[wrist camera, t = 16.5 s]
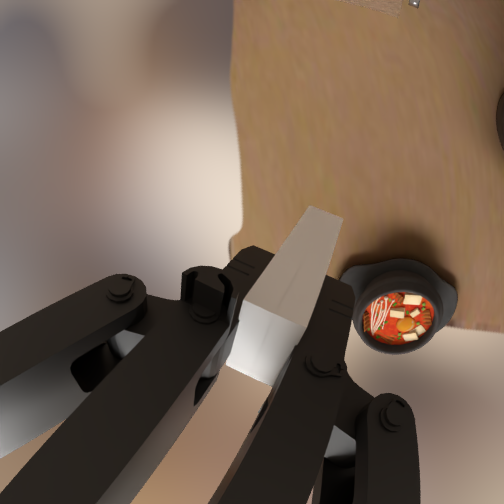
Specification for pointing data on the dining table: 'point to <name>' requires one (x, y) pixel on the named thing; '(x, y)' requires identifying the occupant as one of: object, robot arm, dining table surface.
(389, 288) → the casserole
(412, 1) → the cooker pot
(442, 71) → the dining table surface
